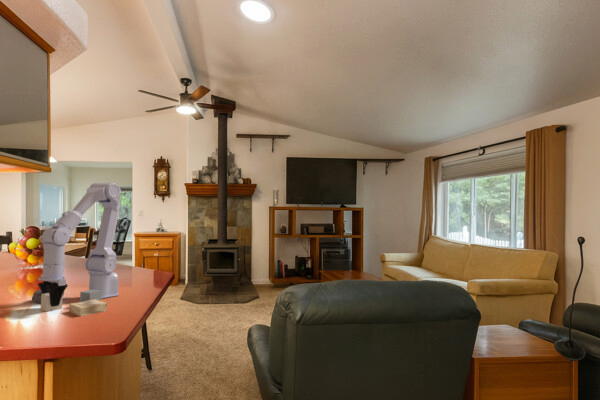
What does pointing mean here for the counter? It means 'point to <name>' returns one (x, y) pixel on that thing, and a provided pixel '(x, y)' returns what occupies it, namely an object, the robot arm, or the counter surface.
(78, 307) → the maple slab
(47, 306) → the ivory cube
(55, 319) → the counter surface
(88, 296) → the slate cube
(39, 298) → the rock
